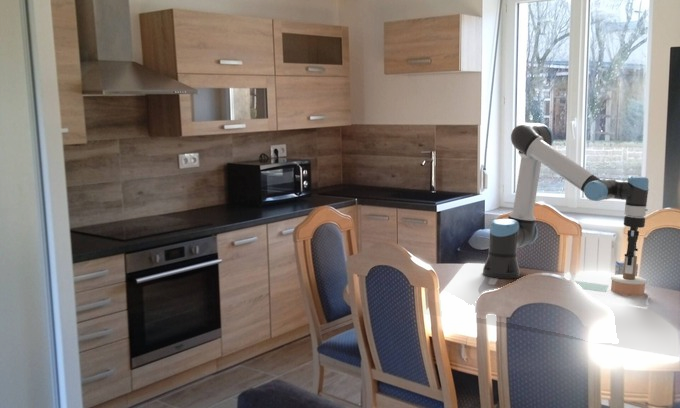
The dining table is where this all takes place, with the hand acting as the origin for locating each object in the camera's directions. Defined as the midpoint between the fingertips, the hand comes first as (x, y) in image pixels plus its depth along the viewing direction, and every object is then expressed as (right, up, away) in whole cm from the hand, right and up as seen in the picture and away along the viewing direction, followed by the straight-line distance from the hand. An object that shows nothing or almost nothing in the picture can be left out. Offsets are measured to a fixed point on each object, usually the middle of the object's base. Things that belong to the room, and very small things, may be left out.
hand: (629, 270), depth 272 cm
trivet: (-13, -8, +7) cm, 17 cm away
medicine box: (+6, -7, +19) cm, 21 cm away
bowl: (0, -9, +1) cm, 9 cm away
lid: (0, -4, +1) cm, 4 cm away
